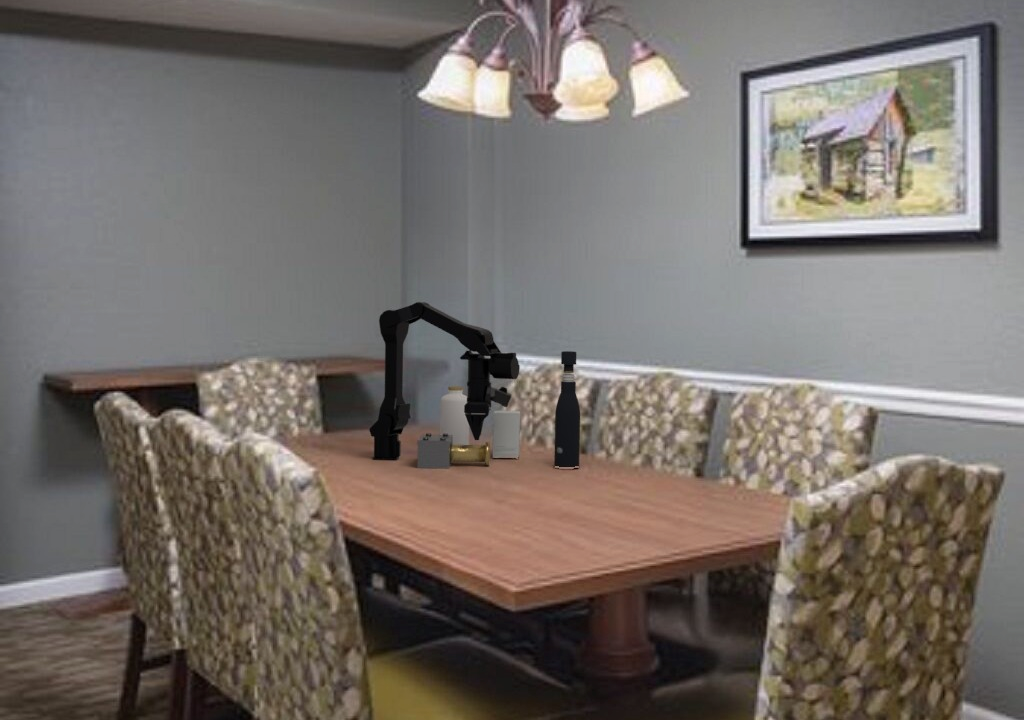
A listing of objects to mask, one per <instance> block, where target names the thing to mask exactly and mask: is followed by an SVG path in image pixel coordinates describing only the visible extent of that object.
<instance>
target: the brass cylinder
mask: <svg viewBox="0 0 1024 720" xmlns="http://www.w3.org/2000/svg"><path fill="white" fill-rule="evenodd" d="M490 456H491V442H490V441H485V444H469V445H456V444H450V461H452V463H453V462H459V463H460V462H461V463H462V462H464V463H465V462H466V463H467V462H468V463H484V465H485V466H490V461H491V460H490V459H491V457H490Z"/></svg>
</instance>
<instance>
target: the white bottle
mask: <svg viewBox="0 0 1024 720" xmlns="http://www.w3.org/2000/svg"><path fill="white" fill-rule="evenodd" d="M463 392H464V390H463V387H462V386H447V394H444V395H443V396H441V398H440V401H439V403H440V409H439V410H440V411H439V412H440V415H439V435H443V434H448V435H453V444H456V445H470V426H469V424H468V421H467V418H466V416H465V413H464V405H465V404H466V403H467V395H465V394H463Z"/></svg>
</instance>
